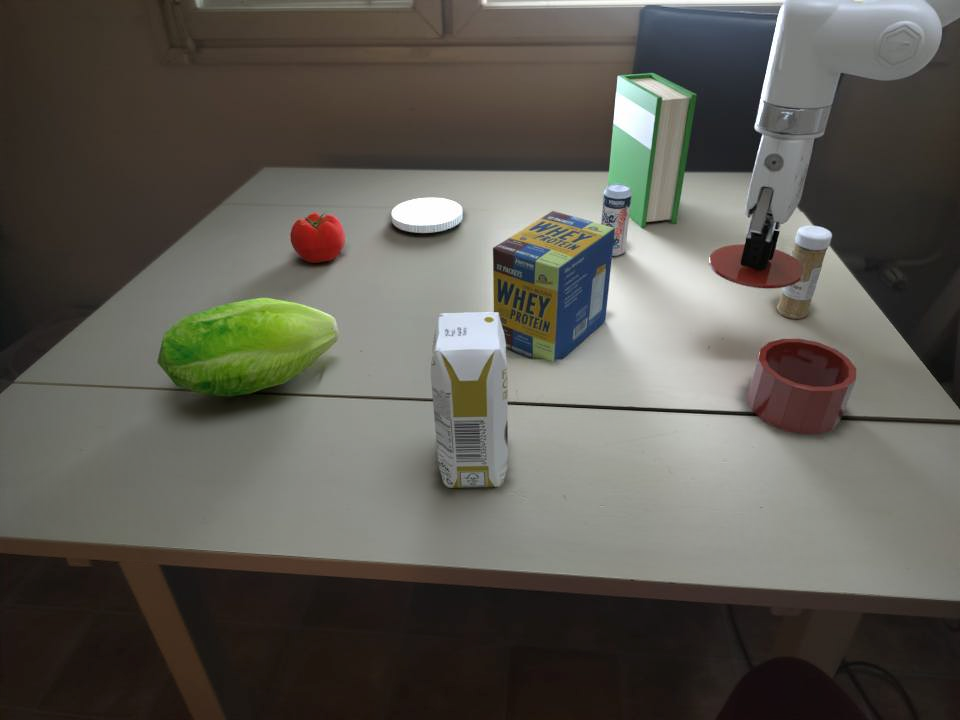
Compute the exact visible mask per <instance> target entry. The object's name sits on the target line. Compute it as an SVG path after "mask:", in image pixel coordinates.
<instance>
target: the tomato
mask: <svg viewBox="0 0 960 720" xmlns="http://www.w3.org/2000/svg"><path fill="white" fill-rule="evenodd" d="M325 214H326V212H324V213H323V214H321V215H320V214H318V213H317V212H316V211H315V212H312V213H309V214H308V215H307V216H306V217H303V218H304V219H303V218H299V219H297V220H295V222H294V224H293V225H292V227H291V229H290V234H289V236H290V243H291V246H292V249H293V250H294V251H295V252H296V253H297V254H298V255H299V257H300V258H301V259H302V260H304V261H306V262H307V263H311V264H312V263H313V264H318V263H324V262H330V261H332V260H334V259H336V258H337V257H338V256H339V255H340V254H341V252H342V249H344V246H345V244H346V235H345V231H344V228H343V226H342V224H341V221H340V220H339V219H338V218H337V217H336V216H335V215H333V214H326V215H325Z"/></svg>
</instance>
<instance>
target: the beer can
mask: <svg viewBox="0 0 960 720" xmlns="http://www.w3.org/2000/svg"><path fill="white" fill-rule="evenodd" d="M631 195H632V192H631V190H630V187H629V186H627V185H624V184H611V185H608V184H607V185H606V188H605V190H604V191H603V199H602V210H601V221H600V224H602V225H606V226H609V227H613V228H615V233H614V242H613V251H612V257H617V256H620V255H622V254H624V253H625V252H626V250H627V249H626V246H627V239H628V238H627V237H628V228H629V223H630V222H629V220H630V216H629V213H630V204H631Z"/></svg>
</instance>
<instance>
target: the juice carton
mask: <svg viewBox="0 0 960 720" xmlns="http://www.w3.org/2000/svg"><path fill="white" fill-rule="evenodd" d="M432 340H433V341H432V355H431V361H430V382H431V393H432V406H433V416H434V429H435V441H436V452H437V462H438V463H437V464H438V470H439V474H440V476H441V480H442V482H443V484H444V485H445V486H446V487H447V488H449V489H451V488H452V489H459V488H464V489H465V488H498V487H500V486H502V485H503V484H504V482H505V478H506V475H507V471H508V465H509V462H508V461H509V460H508V459H509V444H508V443H509V439H508V438H509V437H508V436H509V431H508V430H509V424H508V423H509V422H508V420H509V419H508V417H509V411H508V409H509V408H508V407H509V406H508V405H509V404H508V398H509V396H508V395H509V393H508V391H509V389H508V388H509V385H508V384H509V383H508V360H507V348H506V341H505V336H504V332H503V328H502V325H501V321H500V318H499V312H494V311H484V312H481V311H478V312H477V311H475V312H474V311H473V312H470V311H469V312H443V313H437V320H436V326H435V329H434V334H433V339H432Z"/></svg>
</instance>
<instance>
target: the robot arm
mask: <svg viewBox="0 0 960 720" xmlns="http://www.w3.org/2000/svg"><path fill="white" fill-rule="evenodd" d="M958 19H960V0H863V1H861V2H860V1H859V2H856V1H855V0H785V1H784V2H783V3H782V4H781V6H780V9H779V12H778V16H777V20H776V25H775V28H774V29H775V30H774V34H773V38H772V43H771V48H770V53H769V58H768V62H767V67H766V73H765V77H764V80H763V85H762V90H761V94H760V99H759V103H758V108H757V113H756V118H755V123H754V127H753V128H754V130H755V131H756V132H758V133H759V134H761V138H760V142H759V146H758V150H757V152H756V158H755V162H754V166H753V169H752V174H751V178H750V183H749V187H748V192H747V195H746V201H745V208H744V215H745V216H746V217H747V218H748V219H749V218H751V219H750V223H749V227H748V231H747V235H746V237H745V241H744V244H745V245H744V249H743V254H742V258H741V265H742V266H746V267H750V268H754V269H759V270H765V269H766V268H767V265H768V261H769V260H772V258H773V256H774V252H775V249H777V244H778V240H779V236H780V232H781V231H780V228H781V225H784V224H786V223H787V222H788V221H789V220H790V218H791V217H792V215H793V214H794V212H795V211H796V209H797V207H798V206H799V204H800V202H801V200H802V196H803V191H804V187H805V182H806V178H807V173H808V169H809V165H810V161H811V157H812V153H813V148H814V143H815V139H818V138H821V137H822V136H824V135H825V131H826V128H827V124H828V121H829V117H830V113H831V110H832V106H833V103H834V99H835V96H836V92H837V88H838V84H839V81H840V77H841V74H847V75H850V76H851V75H852V76H856V77H861V78H865V79H871V80H875V81H876V80H878V81H896V80H901V79H905V78H907V77H910V76H912V75H914V74H916V73H918V72H919V71H921V70H923V68H925V67H926V66H927V65H928V64H929V63H930V62H931V61H932V60H933V58H934V57H935V55H936V53H937V52H938V50H939V48H940V45H941V41H942V37H943V28H944V27H946V26H948V25H949V24H951V23H953V22H955V21H957V20H958ZM765 223H770V225H769V228H768V226H767V225H765ZM774 228H775V230H774ZM773 232H774V234H773ZM772 236H773V238H772ZM771 239H772V240H771Z"/></svg>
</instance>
